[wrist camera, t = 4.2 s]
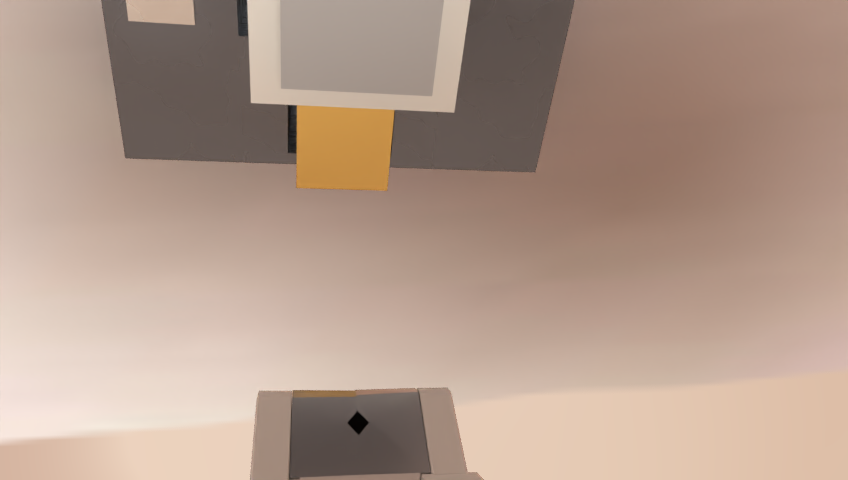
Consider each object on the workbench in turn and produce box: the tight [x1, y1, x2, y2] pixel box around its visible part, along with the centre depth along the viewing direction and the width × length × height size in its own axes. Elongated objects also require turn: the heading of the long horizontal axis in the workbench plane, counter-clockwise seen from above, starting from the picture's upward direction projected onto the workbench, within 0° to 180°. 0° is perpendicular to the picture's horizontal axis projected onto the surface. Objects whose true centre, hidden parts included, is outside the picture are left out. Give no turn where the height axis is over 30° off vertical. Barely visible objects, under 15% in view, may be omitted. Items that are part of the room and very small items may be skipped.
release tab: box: [296, 105, 394, 191], centre depth 20 cm, size 2×2×4 cm
